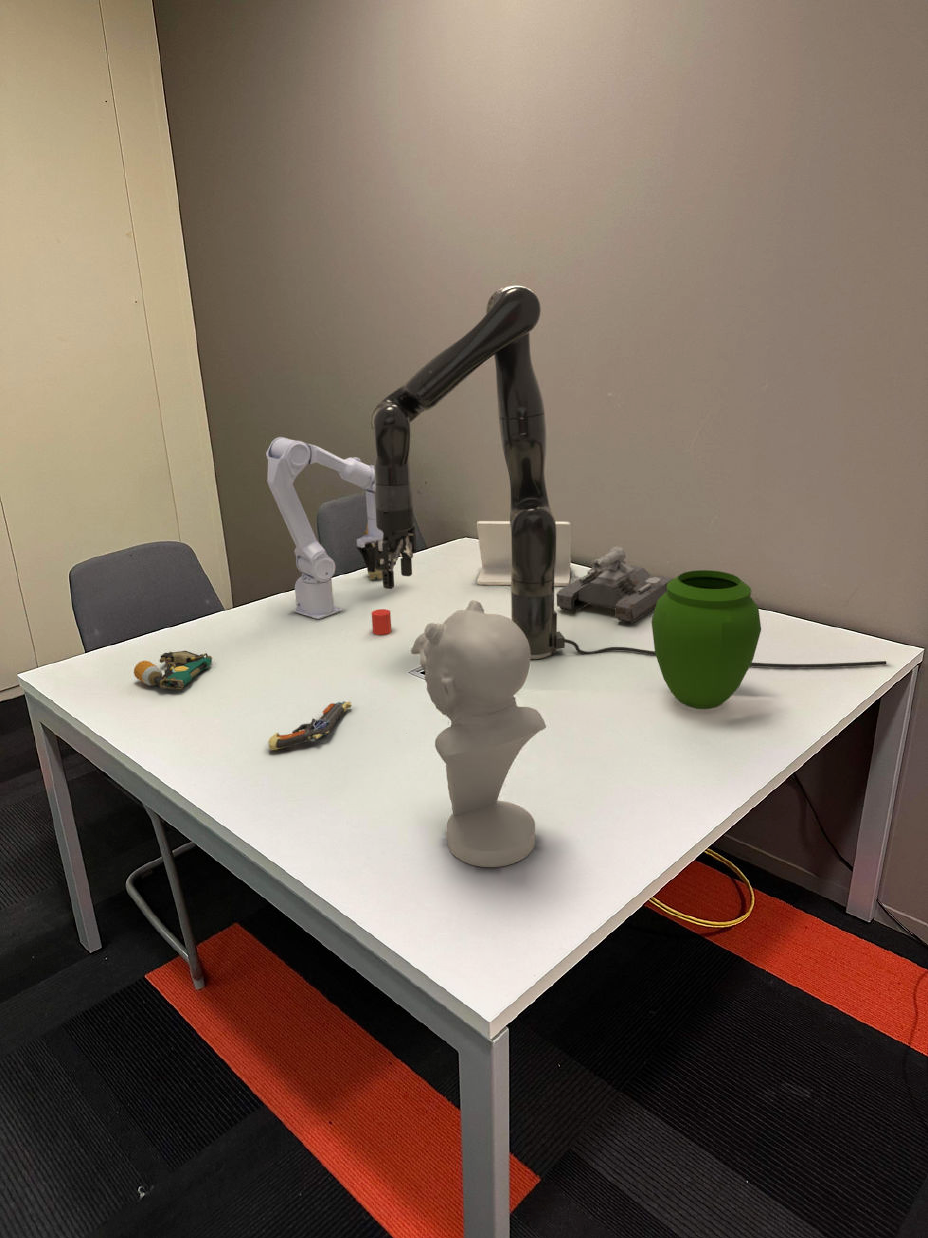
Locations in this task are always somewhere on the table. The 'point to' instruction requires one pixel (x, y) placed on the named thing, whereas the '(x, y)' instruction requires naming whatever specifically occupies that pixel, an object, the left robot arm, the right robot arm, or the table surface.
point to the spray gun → (172, 669)
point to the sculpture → (378, 572)
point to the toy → (614, 588)
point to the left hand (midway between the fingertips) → (381, 567)
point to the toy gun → (311, 727)
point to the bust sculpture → (481, 729)
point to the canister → (381, 622)
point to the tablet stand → (499, 553)
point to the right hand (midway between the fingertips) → (397, 581)
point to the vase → (705, 636)
